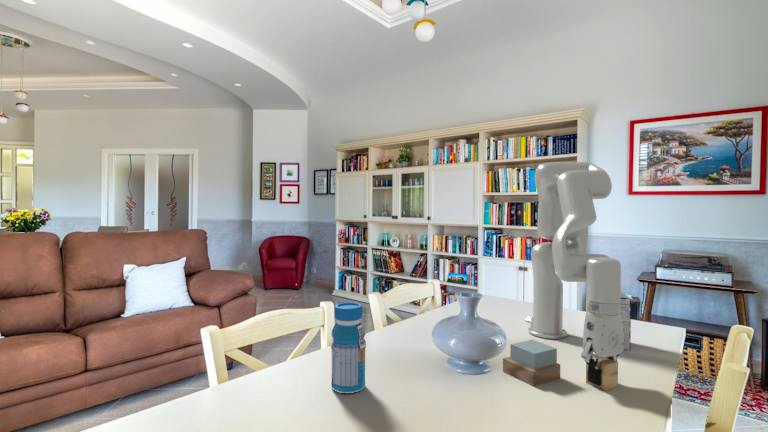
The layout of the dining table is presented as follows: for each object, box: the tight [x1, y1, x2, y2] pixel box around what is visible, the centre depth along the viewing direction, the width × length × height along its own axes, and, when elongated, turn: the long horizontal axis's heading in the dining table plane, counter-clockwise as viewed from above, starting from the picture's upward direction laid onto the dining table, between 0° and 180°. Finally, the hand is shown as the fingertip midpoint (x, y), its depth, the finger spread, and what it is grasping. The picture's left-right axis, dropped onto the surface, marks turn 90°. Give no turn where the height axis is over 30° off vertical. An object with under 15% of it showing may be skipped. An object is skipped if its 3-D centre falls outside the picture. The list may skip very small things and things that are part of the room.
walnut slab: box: [502, 356, 561, 387], centre depth 105 cm, size 10×10×4 cm
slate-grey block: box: [510, 339, 558, 370], centre depth 105 cm, size 8×8×4 cm
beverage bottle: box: [330, 301, 367, 394], centre depth 97 cm, size 8×8×20 cm
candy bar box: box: [620, 292, 632, 351], centre depth 129 cm, size 11×5×16 cm, turn 168°
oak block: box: [585, 357, 619, 391], centre depth 100 cm, size 5×5×6 cm
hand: (601, 380), depth 100 cm, fingers closed on oak block, 4 cm apart
